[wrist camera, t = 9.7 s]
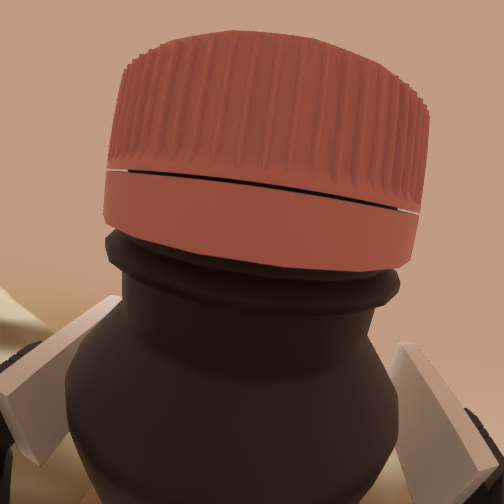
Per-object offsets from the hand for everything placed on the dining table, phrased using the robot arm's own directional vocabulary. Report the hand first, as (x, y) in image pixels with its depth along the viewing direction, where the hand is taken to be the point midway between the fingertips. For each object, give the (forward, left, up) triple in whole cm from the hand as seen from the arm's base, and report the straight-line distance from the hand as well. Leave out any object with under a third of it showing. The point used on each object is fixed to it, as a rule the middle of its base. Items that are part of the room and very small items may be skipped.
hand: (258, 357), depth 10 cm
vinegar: (0, -4, -13) cm, 14 cm away
